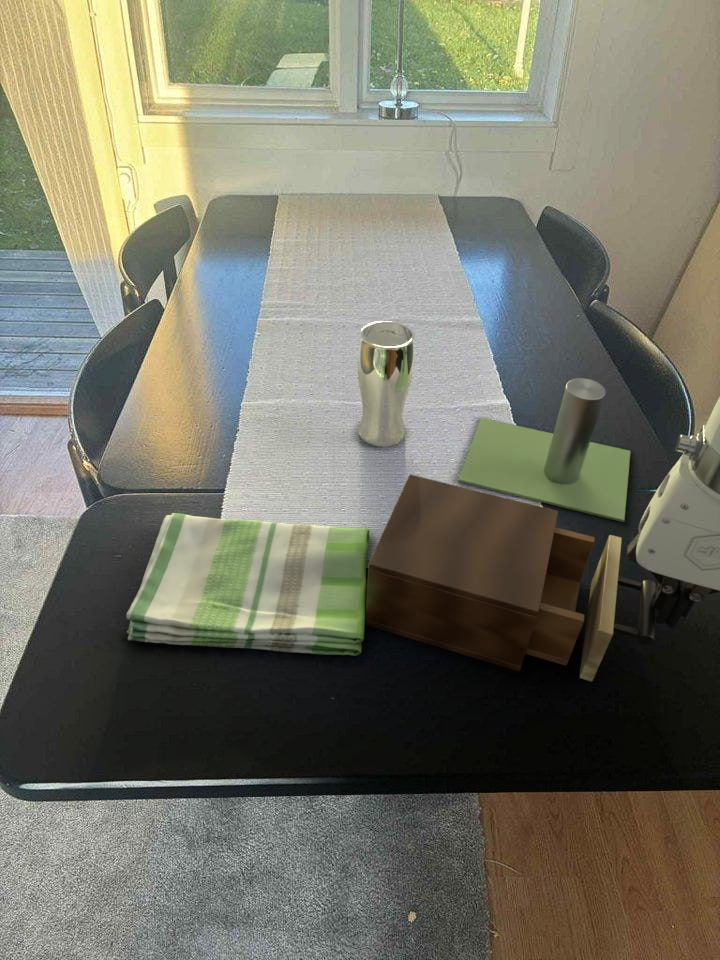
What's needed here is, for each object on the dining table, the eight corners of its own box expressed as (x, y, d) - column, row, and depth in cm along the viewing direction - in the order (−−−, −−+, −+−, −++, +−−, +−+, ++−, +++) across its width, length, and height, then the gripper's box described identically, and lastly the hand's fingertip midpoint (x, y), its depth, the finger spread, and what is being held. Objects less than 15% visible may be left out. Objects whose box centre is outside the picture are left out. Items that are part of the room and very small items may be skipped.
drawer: (642, 596, 73) (665, 548, 68) (637, 695, 64) (663, 648, 59) (468, 549, 77) (477, 501, 72) (440, 636, 68) (449, 588, 63)
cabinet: (540, 570, 76) (558, 510, 70) (519, 671, 67) (538, 611, 61) (403, 534, 80) (409, 473, 74) (364, 625, 70) (368, 563, 64)
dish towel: (169, 523, 80) (164, 500, 78) (369, 533, 80) (370, 511, 77) (124, 648, 67) (117, 625, 65) (363, 661, 67) (364, 639, 65)
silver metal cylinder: (580, 466, 89) (607, 382, 81) (577, 487, 86) (604, 402, 78) (546, 458, 90) (568, 375, 82) (541, 479, 87) (564, 394, 79)
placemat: (629, 453, 93) (630, 450, 92) (623, 522, 82) (624, 520, 82) (481, 420, 97) (481, 417, 97) (458, 482, 87) (458, 479, 87)
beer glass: (417, 433, 94) (428, 334, 84) (383, 456, 90) (389, 355, 81) (379, 411, 98) (385, 314, 88) (344, 432, 94) (346, 333, 84)
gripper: (642, 469, 52) (579, 620, 64) (863, 523, 49) (752, 671, 61) (646, 414, 57) (587, 563, 70) (846, 459, 54) (747, 607, 66)
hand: (664, 613), depth 65 cm, fingers closed
